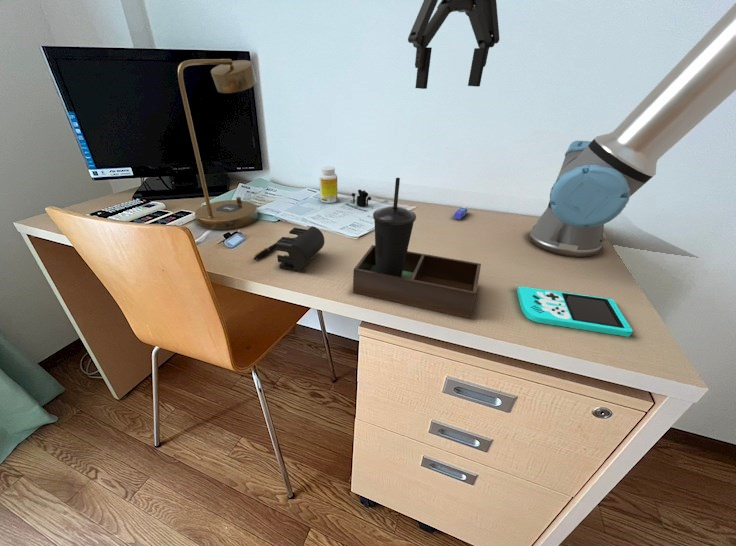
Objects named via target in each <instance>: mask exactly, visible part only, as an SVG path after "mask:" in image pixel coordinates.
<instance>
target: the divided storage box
mask: <svg viewBox="0 0 736 546" xmlns="http://www.w3.org/2000/svg"><path fill="white" fill-rule="evenodd" d="M481 267H482V263H479V262H473V261H468V260H461V259H456V258H450V257H445V256H444V257H443V256H439V255H434V254H433V255H432V254H427V253H421V252H414V251H410V250H407V254H406V259H405V263H404V267H403V272H402V276H401V277H398V276H393V275H388V274H383V273H378V272H376V254H375V244H372V245H371V246H370V247H369V248H368V250H367V251H366V252H365V254H364V255H363V256H362V258H361V259H360V260H359V262H358V263H357V264H356V265H355V267H354V268H353V276H352V278H353V279H352V294H357V295H361V296H366V297H370V298H374V299H379V300H383V301H388V302H393V303H397V304H402V305H407V306H410V307H415V308H418V309H424V310H428V311H433V312H437V313H441V314H446V315H451V316H456V317H459V318H464V319H471V315H472V311H473V309H474V304H475V300H476V297H477V292H478V287H479V280H480V274H481Z"/></svg>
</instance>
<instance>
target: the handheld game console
mask: <svg viewBox="0 0 736 546" xmlns="http://www.w3.org/2000/svg"><path fill="white" fill-rule="evenodd" d="M516 293H517V297H518V301H519V306H520V310H521V312H522V313H523V315H524V316H525V317H526V318H527V319H528V320H530V321H532V322H534V323H538V324H545V325H551V326H557V327H565V328H570V329H577V330H582V331H587V332H595V333H600V334H601V333H602V334H608V335H613V336H614V335H615V336H619V337H620V336H621V337H627V338H629V337H630V336H631V335H632V334H633V329H632V327H631V325H630V324H629V322H628V320H627V319H626V318H625V316H624V314H623V313H622V311H621V309H620V308H619V306H618V305H617V303H616V301H615V300H614V299H612V298H608V297H601V296H594V295H586V294H579V293H571V292H566V291H565V292H564V291H559V290H549V289H542V288H535V287H528V286H521V285H520V286H518V288H517V291H516Z"/></svg>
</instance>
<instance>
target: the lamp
mask: <svg viewBox="0 0 736 546" xmlns="http://www.w3.org/2000/svg"><path fill="white" fill-rule="evenodd" d="M203 65H204V66H206V65H207V66H208V65H216V66H214V67H213V68H212V69H211V70H210V74H211V78H212V80H213V83H214V85H215V89H216V91H217V92H218V93H220V94H234V93H240V92H244V91H246V90H248V89H251V88H253V86H255V85H256V84H257V82H258V81H257V76H256V72H255V69H254V66H253V62H252V61H251V60H247V59H237V60H232V58H211V59H210V58H199V59H197V58H196V59H187V60H184V61H181V62H180V63H179V64H178V66H177V79H178V86H179V90H180V95H181V99H182V103H183V108H184V112H185V117H186V121H187V126H188V130H189V135H190V138H191V139H190V140H191V143H192V148H193V152H194V157H195V160H196V165H197V170H198V174H199V178H200V183H201V188H202V192H203V197H204V201H205V204H204V205H202V206H200V207H198V208H197V209H196V210H195V212H194V216H195V217H194V218H195V222H196V224H197V225H198V227H200V228H203V229H206V230H212V231H228V230H235V229H240V228H243V227H246V226H248V225H250V224H253V223H254V222H255V221H256V220H257V219H258V208H257V206H256V204H255V203H253V202H250V201H247V200H242V197H241V196H237V197H235V198H236V199H226V200H220V201H219V200H218V201H213V202H210V197H209V191H208V187H207V183H206V179H205V178H206V177H205V174H204V168H203V164H202V161H201V160H202V159H201V156H200V151H199V146H198V142H197V141H198V140H197V137H196V132H195V127H194V123H193V119H192V114H191V109H190V105H189V100H188V97H187V92H186V86H185V81H184V70H185V68H187V67H190V66H191V67H192V66H203Z"/></svg>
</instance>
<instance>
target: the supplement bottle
mask: <svg viewBox="0 0 736 546" xmlns="http://www.w3.org/2000/svg"><path fill="white" fill-rule="evenodd" d="M335 169H336V168H335V167H334V166H323V167H322V168H321V174H319V198H320V199H319V200H320V201H321V202H322V203H325V204H326V203H327V204H332V203H335V202H337V201H338V175H337V174H336V170H335Z"/></svg>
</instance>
